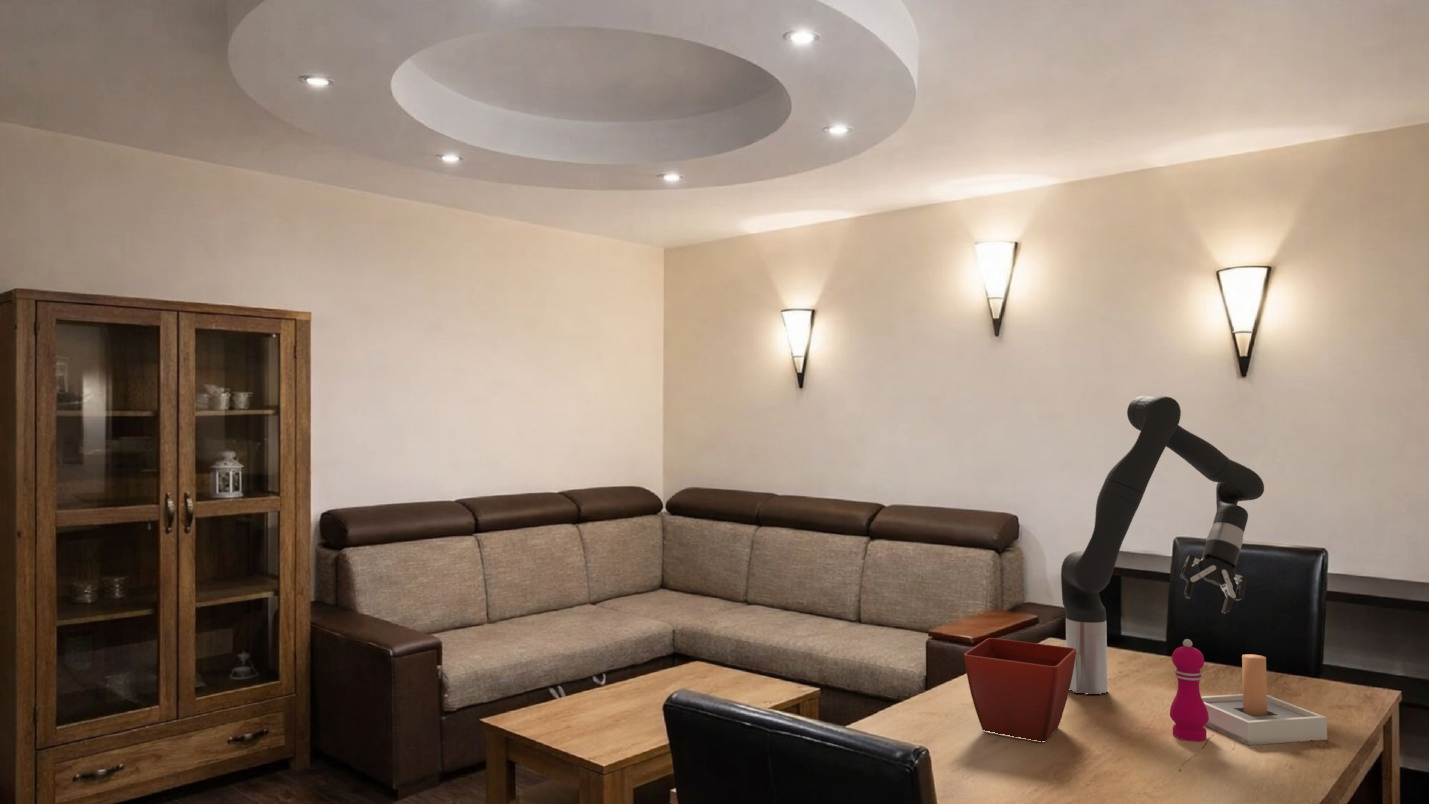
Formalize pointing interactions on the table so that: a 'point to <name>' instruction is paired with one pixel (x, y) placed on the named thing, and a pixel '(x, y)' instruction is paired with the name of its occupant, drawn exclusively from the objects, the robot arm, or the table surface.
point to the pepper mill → (1188, 694)
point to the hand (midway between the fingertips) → (1206, 605)
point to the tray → (1264, 721)
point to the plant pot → (1019, 686)
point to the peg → (1254, 685)
